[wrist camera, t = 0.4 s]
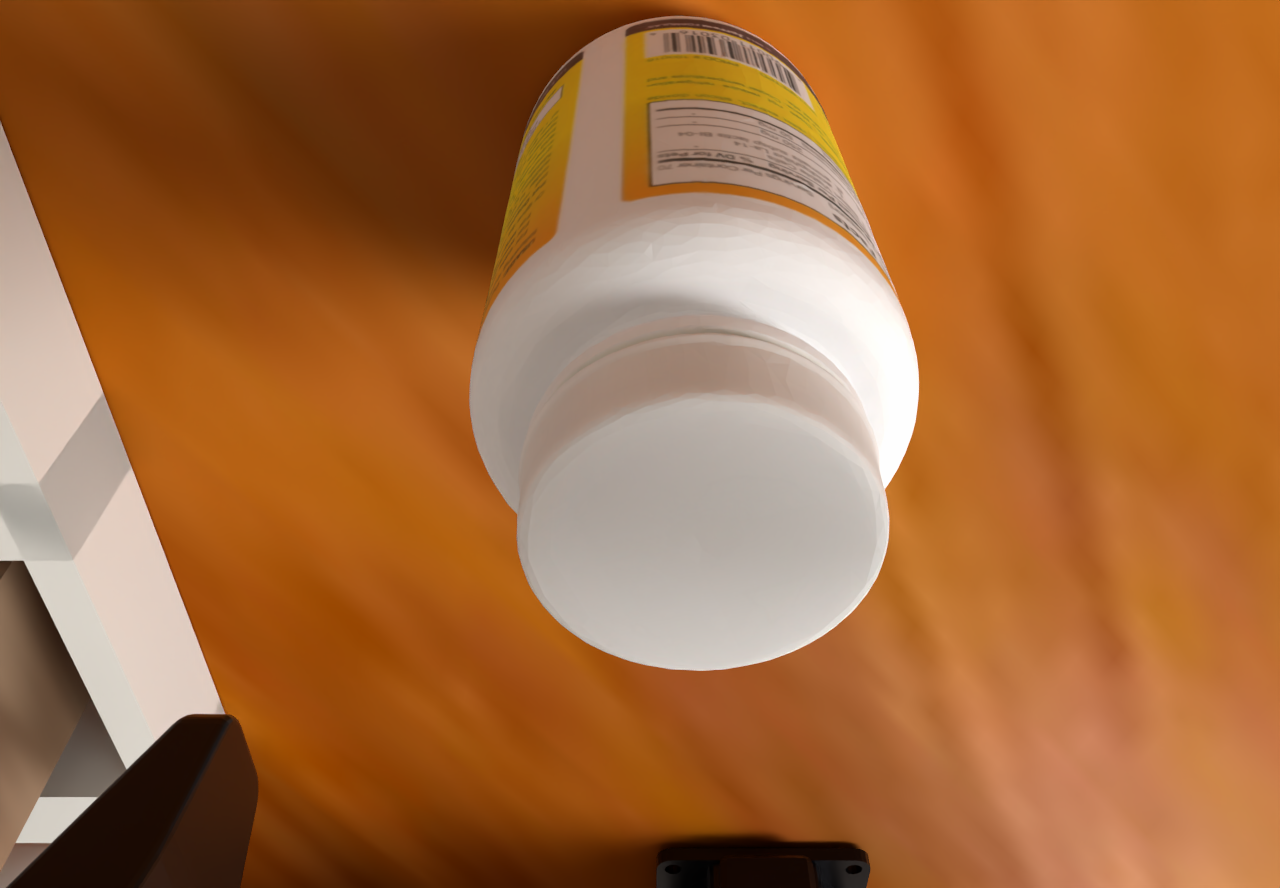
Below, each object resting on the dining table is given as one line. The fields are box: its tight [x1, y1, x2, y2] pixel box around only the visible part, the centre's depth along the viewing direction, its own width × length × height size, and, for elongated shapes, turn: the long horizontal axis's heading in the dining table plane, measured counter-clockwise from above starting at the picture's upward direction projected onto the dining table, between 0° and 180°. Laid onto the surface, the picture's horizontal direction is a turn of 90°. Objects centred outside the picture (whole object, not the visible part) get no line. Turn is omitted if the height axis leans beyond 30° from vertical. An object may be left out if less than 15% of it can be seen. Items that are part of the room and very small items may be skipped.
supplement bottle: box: [470, 16, 919, 671], centre depth 15 cm, size 6×6×10 cm
